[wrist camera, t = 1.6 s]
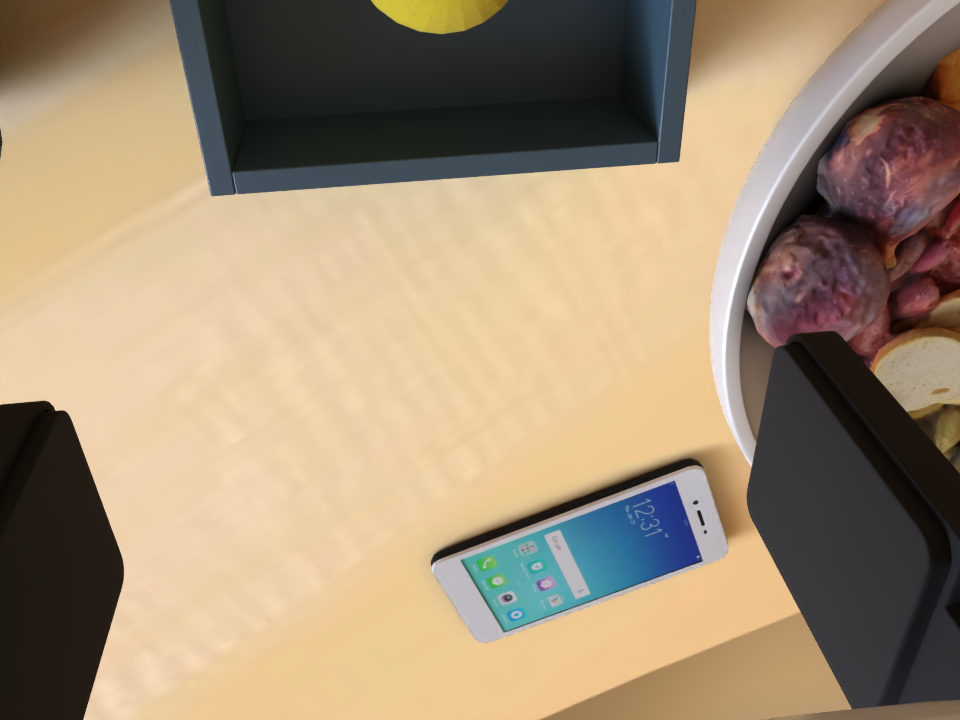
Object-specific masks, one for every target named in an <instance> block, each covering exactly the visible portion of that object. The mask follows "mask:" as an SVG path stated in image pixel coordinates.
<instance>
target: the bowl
mask: <svg viewBox="0 0 960 720" xmlns="http://www.w3.org/2000/svg"><path fill="white" fill-rule="evenodd" d="M709 329H710V352H711V362H712V369H713V374H714V380H715V385H716V389H717V393H718V396H719V400H720V404H721V407H722V409H723V412H724V415H725V417H726V420H727V423H728V425H729V427H730V429H731V431H732V433H733V435H734V438H735V440H736V442H737V444H738V445H739V447H740V449H741V450H742V452H743V454H744V456H745V457H746V459H747V461H748V462H749V464H750V465H751V467H752V463H753V458H754V453H755V447H756V442H757V437H758V432H759V426H760V421H761V416H762V411H763V405H764V400H765V395H766V390H767V384H768V379H769V374H770V369H771V363H772V358H773V354H774V351H775V349H776V348H777V347H778V346H782V345H785V344H786V341H787V339H788V338H789V336H791V335H792V334H798V333H809V332H820V331H836V332H837V333H838V334H840V335H841V336H842V337H843V339H844V340H845V341H846V342H847V343H848V344H849V346H850V347H851V348H852V349H853V350H854V351H855V353H856V354H857V355H858V356H859V357H860V358H861V359H862V361H863V362H864V363H865V364H866V365H867V366H868V368H869V369H870V370H871V371H872V372H873V373H874V375H875V376H876V377H877V378H878V379H879V380H880V381H881V383H882V384H883V385H884V386H885V387H886V388H887V390H888V391H889V392H890V393H891V394H892V395H893V397H894V398H895V399H896V400H897V401H898V402H899V404H900V405H901V406H902V407H903V408H904V409H905V410H906V412H907V413H908V414H909V415H910V416H911V417H912V419H913V420H914V421H915V422H916V423H917V424H918V426H919V427H920V428H921V429H922V430H923V431H924V432H925V434H926V435H927V436H928V437H929V438H930V439H931V441H932V442H933V443H934V444H935V445H936V446H937V448H938V449H939V450H940V451H941V452H942V453H943V455H944V456H945V457H946V458H947V459H948V460H949V461H950V463H951V464H952V465H953V466H954V467H955V468H956V470H957V471H958V472H959V473H960V0H886V1H885V2H884V3H883V4H882V5H881V6H879V7H878V8H877V9H876V10H875V11H874V12H872V13H871V14H870V15H869V16H868V17H867V18H866V19H865V20H864V21H863V22H862V23H861V24H860V25H859V26H858V27H857V28H856V29H855V30H854V31H853V32H852V33H851V34H850V35H849V36H848V37H847V38H846V39H845V40H844V41H843V42H842V43H841V44H840V45H839V46H838V47H837V48H836V49H835V50H834V52H833V53H832V54H831V55H830V56H829V57H828V58H827V59H826V60H825V62H824V63H823V64H822V65H821V66H820V67H819V69H818V70H817V71H816V72H815V73H814V74H813V76H812V77H811V78H810V79H809V81H808V82H807V83H806V84H805V86H804V87H803V88H802V90H801V91H800V92H799V94H798V95H797V96H796V97H795V99H794V100H793V101H792V103H791V104H790V106H789V107H788V109H787V110H786V112H785V113H784V114H783V116H782V117H781V119H780V120H779V122H778V123H777V125H776V126H775V128H774V130H773V131H772V133H771V135H770V136H769V138H768V139H767V141H766V143H765V144H764V146H763V148H762V150H761V151H760V153H759V155H758V157H757V159H756V161H755V162H754V164H753V166H752V168H751V170H750V172H749V174H748V176H747V178H746V180H745V183H744V185H743V187H742V189H741V191H740V193H739V196H738V198H737V201H736V203H735V206H734V208H733V211H732V213H731V216H730V219H729V222H728V225H727V228H726V231H725V234H724V237H723V241H722V245H721V248H720V252H719V256H718V260H717V265H716V270H715V275H714V280H713V287H712V295H711V303H710V322H709Z"/></svg>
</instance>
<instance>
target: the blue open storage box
mask: <svg viewBox="0 0 960 720" xmlns="http://www.w3.org/2000/svg"><path fill="white" fill-rule="evenodd" d="M696 1H697V0H508V1H507V3H506V4H505V5H504V6H503V8H502V9H500V10H499V11H498V12H497V13H495V14H494V15H493V16H491V17H490V18H489V19H488V20H486V21H485V22H483V23H481V24H479V25H476V26H474V27H472V28H469V29H467V30H465V31H460V32H453V33H446V34H437V33H428V32H420V31H417V30H414V29H412V28H409V27H407V26H404V25H402V24H399V23H397V22H395V21H394V20H393V19H391V18H390V17H389V16H387V15H386V14H385V13H383V12H382V11H380V10H379V9H378V8H377V7H376V6H375V5H374V4H373V2H372V1H371V0H170V5H171V9H172V14H173V19H174V24H175V28H176V33H177V38H178V42H179V47H180V52H181V57H182V61H183V66H184V71H185V76H186V80H187V85H188V90H189V94H190V99H191V104H192V109H193V113H194V118H195V123H196V128H197V132H198V137H199V142H200V147H201V151H202V156H203V161H204V165H205V170H206V175H207V180H208V184H209V189H210V194H211V196H221V195H234V194H236V193H237V194H247V193H260V192H274V191H288V190H301V189H315V188H328V187H342V186H356V185H369V184H383V183H397V182H410V181H424V180H438V179H451V178H465V177H478V176H492V175H506V174H519V173H533V172H547V171H560V170H574V169H587V168H601V167H615V166H628V165H642V164H655V163H656V162H657V163H670V162H679V159H680V149H681V140H682V131H683V121H684V112H685V103H686V94H687V84H688V75H689V66H690V57H691V47H692V38H693V29H694V20H695V10H696Z"/></svg>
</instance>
